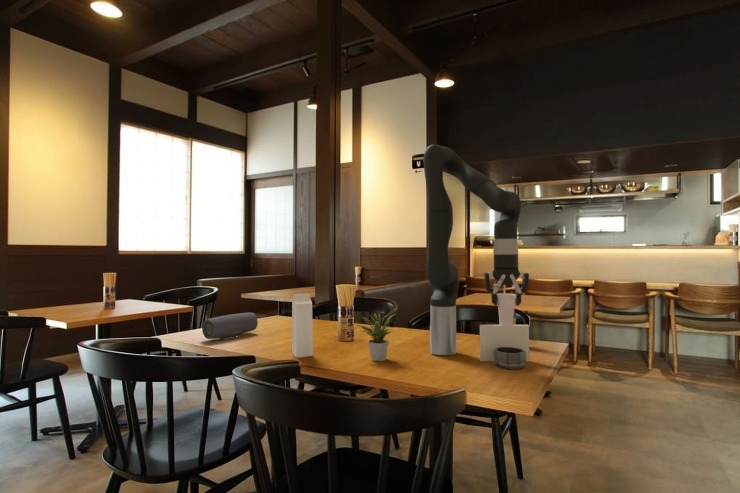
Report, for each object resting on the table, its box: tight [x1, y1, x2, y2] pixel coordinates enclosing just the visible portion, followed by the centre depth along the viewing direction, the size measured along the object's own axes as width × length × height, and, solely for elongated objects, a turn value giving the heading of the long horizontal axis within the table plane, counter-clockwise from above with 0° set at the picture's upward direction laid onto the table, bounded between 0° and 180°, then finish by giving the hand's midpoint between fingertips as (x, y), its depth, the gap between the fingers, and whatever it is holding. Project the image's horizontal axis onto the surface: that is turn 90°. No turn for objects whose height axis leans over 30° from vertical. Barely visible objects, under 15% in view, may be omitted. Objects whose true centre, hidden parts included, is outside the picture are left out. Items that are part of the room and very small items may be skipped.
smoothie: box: [496, 285, 517, 326], centre depth 135 cm, size 6×6×14 cm
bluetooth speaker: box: [201, 312, 259, 340], centre depth 184 cm, size 23×9×10 cm, turn 145°
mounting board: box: [479, 324, 530, 362], centre depth 142 cm, size 16×1×12 cm, turn 87°
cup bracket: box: [494, 347, 527, 371], centre depth 136 cm, size 9×10×5 cm
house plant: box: [356, 312, 396, 362], centre depth 146 cm, size 14×14×16 cm
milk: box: [291, 293, 314, 359], centre depth 152 cm, size 6×6×22 cm
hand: (506, 305), depth 135 cm, fingers closed on smoothie, 6 cm apart
